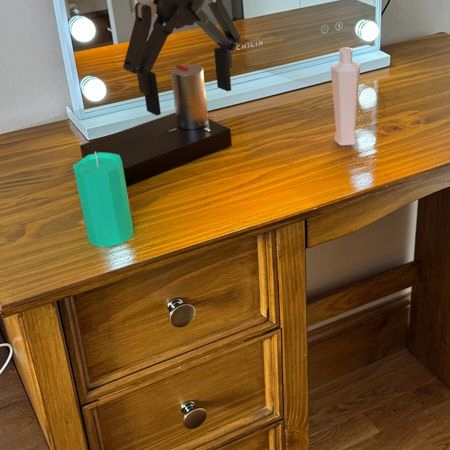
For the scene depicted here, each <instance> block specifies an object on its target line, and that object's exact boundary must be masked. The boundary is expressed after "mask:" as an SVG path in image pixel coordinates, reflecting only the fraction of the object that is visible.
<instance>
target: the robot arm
mask: <svg viewBox="0 0 450 450" xmlns="http://www.w3.org/2000/svg"><path fill="white" fill-rule="evenodd" d="M205 3H207V6H208V7H209V9H210V11H211V13H212V14H213V17H214V19H215V20H216V22H217V24H218V26H219V27H220V28H219V27H218V26H216V24H215V23H214V22H213V21H212V20H211V19H210V17H209V16H208V15H207V14H206V12H205V11H204V10H203V7H204V4H205ZM155 14H156V15H157V16H156V17H155ZM134 16H135V17H134V23H133V27H132V31H131V35H130V38H129V42H128V47H127V51H126V54H125V58H124V61H123V69H124V70H125V71H128V72H129V73H131V74H134V75H136V76H137V83H138V89H139V90H138V91H139V92H140V93H141V94H142V95H144V98H145V106H146V111H147V112H148V113H151V114H152V115H155V116H161V115H162V112H161V106H160V105H161V103H160V98H159V97H160V96H159V89H158V81H157V75H156V72H153V71H152V69H153V67H154V65H155V63H156V62H157V59H158V57H159V55H160V54H161V51H162V49H163V47H164V45H165V43H166V41H167V39H168V37H169V36H170V35H172V33H173V32H174V29H175V30H179V29H182V28H184V27H186V26H187V27H189V26H194V25H195V24H197V26H198V27H199V28H201V30H202V31H203V32H204V33H205V34H206V35H207V36H208V37H209V38H210V39H211V40H212V41H213V42H214V43H215V44H216V45H217V46H218V47H214V48H213V52H214V64H215V71H216V72H215V73H216V84H217V88H218V89H221V90H223V91H226V92H230V91H232V80H231V69H232V68H233V64H234V63H233V51H235V50H236V48H237V45H236V44H240V43H241V42H242V36H241V34H240V32H239V30H238V29H237V27H236V25H235V23H234V20H233V19H232V17H231V16H230V13H229V11H228V10H227V7H226V6H225V4H224V1H223V0H153V2H151V3H143V2H136V3H135V4H134ZM154 18H155V20H154V22H153V24H152V21H153V19H154ZM164 24H165V25H164ZM151 27H152V30H151ZM150 31H151V32H150Z"/></svg>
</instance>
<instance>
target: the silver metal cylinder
mask: <svg viewBox="0 0 450 450" xmlns="http://www.w3.org/2000/svg"><path fill="white" fill-rule="evenodd" d="M170 78H171V85H172V93H173V99H174V100H173V102H174V109H175V112H176V118H177V125H178V127H180V128H182V129H199V128H202V127H204V126H206V125H207V124H208V119H209V118H208V117H209V114H208V113H209V111H208V104H207V94H206V85H205V75H204V68H203V66H202V65H199V64H195V63H194V64H192V63H188V64H187V63H185V64H181V63H177V64H175V66H174V67H172V68H171V69H170Z"/></svg>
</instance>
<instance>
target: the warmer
mask: <svg viewBox="0 0 450 450" xmlns="http://www.w3.org/2000/svg"><path fill="white" fill-rule="evenodd" d="M214 117H217V114H216V113H215V114H211V115H208V124H207V125H206V126H204V127H202V128H199V129H182V128H180V127H178V125H177V118H176V111H175V112H172V113H169V114H166V115H164V116H161V117H157V118H155V119H152V120H149V121H146V122H143V123H140V124H138V125H134V126H132V127H128V128H125V129H123V130H120V131H117V132H114V133H111V134H108V135H106V136H103V137H100V138H97V139H94V140H91V141H89V142H86V143H85V142H84V143H82V144H80V145H79V149H80V153H81V160H82V159H83V158H84V157H86V156H87V155H90V154H95V152H96V153H99V152H104V153H113V154H117V155H120V158H121V160H122V165H123V171H124V177H125V182H126V188H128V187H130V186H133V185H136V184H138V183H141V182H143V181H147V180H148V179H151V178H153V177H156V176H159V175H161V174H164V173H166V172H168V171H171V170H174V169H176V168H179V167H181V166H184V165H187V164H189V163H191V162H194V161H197V160H199V159H202V158H204V157H207V156H209V155H211V154H215V153H217V152H220V151H222V150H224V149H228V148H230V147H232V146H233V144H232V143H233V142H232V141H233V140H232V132H231V131H232V130H231V128H230V127H228V126H225V125H223V124H221V123H220V122H217V121H215V120H212V118H214Z"/></svg>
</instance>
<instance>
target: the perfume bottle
mask: <svg viewBox="0 0 450 450" xmlns="http://www.w3.org/2000/svg"><path fill="white" fill-rule="evenodd" d="M353 50H354V48H352V47H347V46H345V47H341V48H339V49H338V51H339V61H338V62H336V63H335V64H333V65H331V66H330V75H331V76H330V77H331V86H332V88H331V89H332V99H333V100H332V101H333V110H334V111H333V112H334V122H335V123H334V124H335V133H334V138H333V141H334V142H335V143H337V144H338V145H339V146H353V145H354V146H355V145H357V142H358V135H357V134H358V133H357V114H358V103H359V102H358V101H359V90H360V88H359V87H360V76H361V75H360V74H361V64H360V63H357V62H355V61H353Z"/></svg>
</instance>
